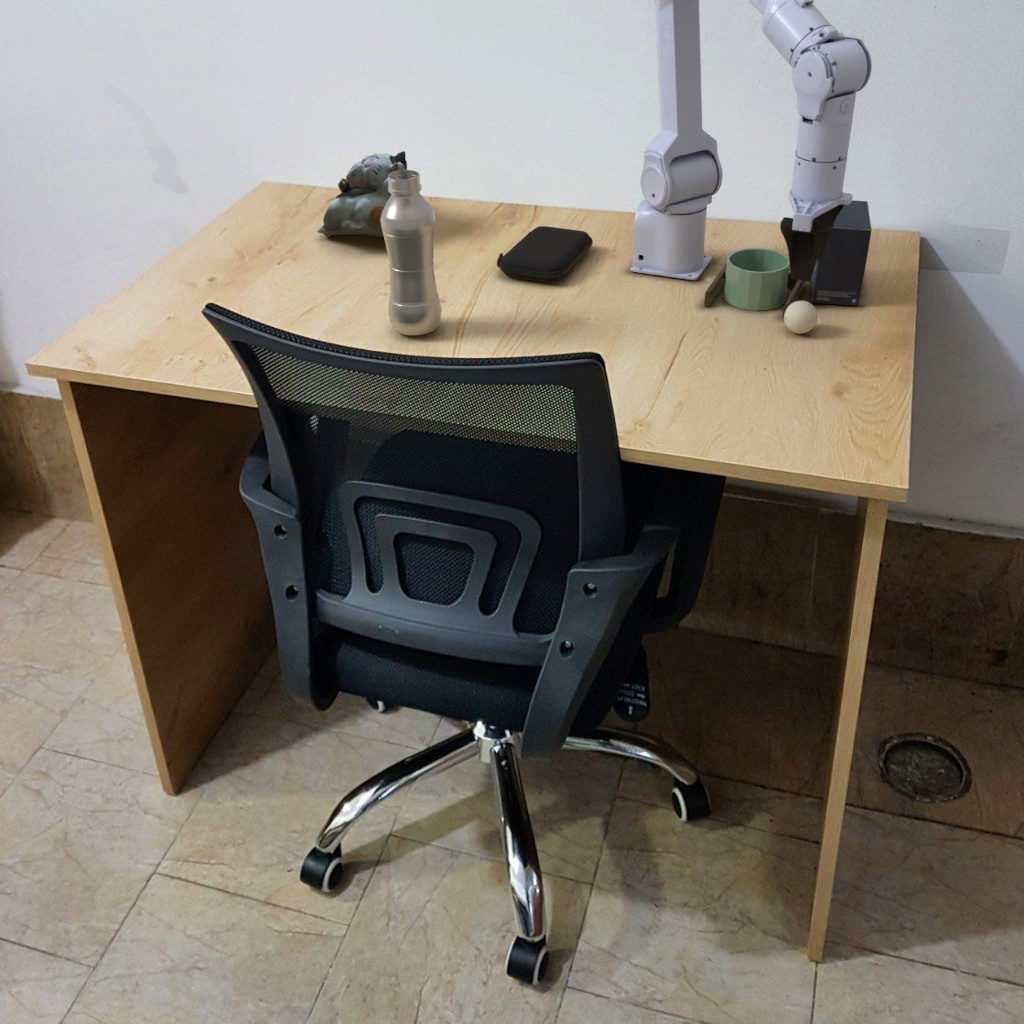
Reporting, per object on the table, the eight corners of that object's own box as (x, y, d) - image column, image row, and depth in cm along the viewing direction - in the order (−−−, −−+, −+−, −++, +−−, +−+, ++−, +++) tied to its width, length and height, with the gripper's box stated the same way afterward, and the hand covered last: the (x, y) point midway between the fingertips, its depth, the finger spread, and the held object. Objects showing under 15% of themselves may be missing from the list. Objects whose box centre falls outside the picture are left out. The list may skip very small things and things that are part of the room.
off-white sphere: (778, 336, 139) (782, 306, 137) (786, 322, 142) (789, 293, 140) (811, 341, 138) (815, 311, 135) (818, 327, 141) (822, 297, 138)
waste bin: (716, 305, 147) (719, 268, 144) (732, 281, 153) (735, 244, 150) (778, 314, 144) (782, 276, 141) (791, 289, 150) (796, 252, 147)
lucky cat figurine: (306, 233, 172) (320, 139, 170) (378, 248, 178) (392, 158, 176) (343, 234, 159) (359, 133, 157) (419, 251, 165) (435, 154, 163)
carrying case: (528, 239, 167) (487, 278, 156) (528, 219, 165) (486, 257, 154) (596, 248, 163) (559, 289, 152) (596, 228, 162) (559, 267, 151)
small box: (861, 307, 145) (874, 229, 139) (809, 304, 146) (819, 226, 140) (858, 274, 153) (869, 198, 147) (808, 271, 154) (818, 196, 148)
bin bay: (704, 306, 147) (705, 292, 145) (724, 276, 154) (725, 262, 153) (787, 319, 143) (789, 304, 142) (804, 287, 150) (806, 273, 149)
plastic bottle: (390, 320, 146) (374, 167, 135) (442, 317, 147) (431, 164, 135) (390, 343, 141) (373, 185, 129) (444, 339, 141) (433, 182, 130)
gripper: (845, 179, 120) (828, 297, 128) (868, 138, 131) (852, 249, 139) (779, 172, 123) (767, 288, 131) (807, 133, 134) (794, 242, 141)
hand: (806, 268), depth 135 cm, fingers open, 6 cm apart
